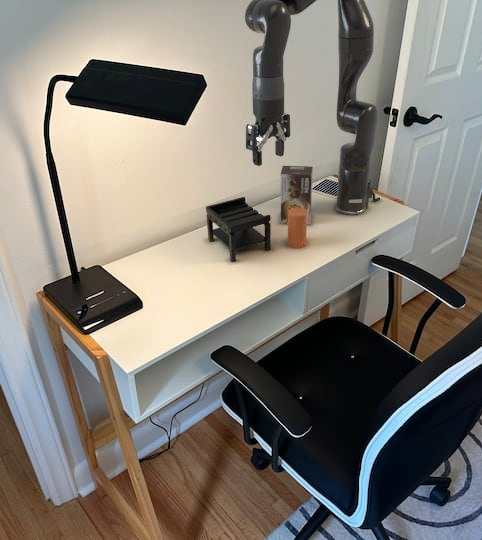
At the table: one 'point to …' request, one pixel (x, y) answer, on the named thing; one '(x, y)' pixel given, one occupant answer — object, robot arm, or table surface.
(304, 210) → the orange-brown cylinder
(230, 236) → the rack
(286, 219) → the coffee box
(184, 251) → the table surface
